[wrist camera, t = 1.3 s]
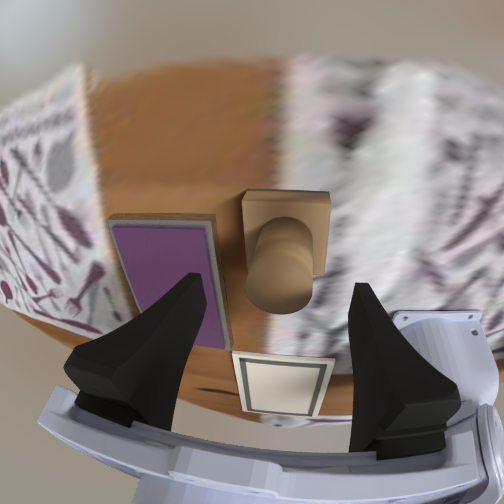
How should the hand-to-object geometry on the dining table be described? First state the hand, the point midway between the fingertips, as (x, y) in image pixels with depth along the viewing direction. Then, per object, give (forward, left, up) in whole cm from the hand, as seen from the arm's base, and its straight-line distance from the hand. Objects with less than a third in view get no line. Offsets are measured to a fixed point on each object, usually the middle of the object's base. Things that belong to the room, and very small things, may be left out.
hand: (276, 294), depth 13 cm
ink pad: (+9, +6, -7) cm, 13 cm away
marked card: (0, +21, -7) cm, 22 cm away
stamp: (0, 0, -7) cm, 7 cm away
